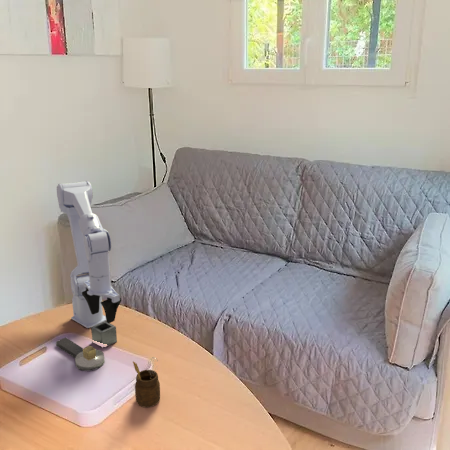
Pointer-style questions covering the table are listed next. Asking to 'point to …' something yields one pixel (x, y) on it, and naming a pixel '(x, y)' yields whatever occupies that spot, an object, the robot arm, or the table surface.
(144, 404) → the utensil holder
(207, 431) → the table surface
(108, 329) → the hollow square tube
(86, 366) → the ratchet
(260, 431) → the table surface
